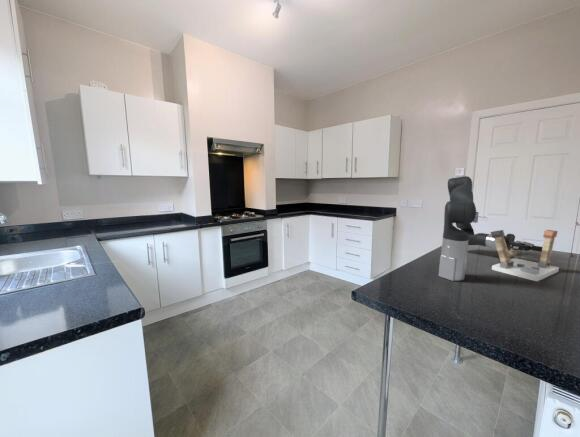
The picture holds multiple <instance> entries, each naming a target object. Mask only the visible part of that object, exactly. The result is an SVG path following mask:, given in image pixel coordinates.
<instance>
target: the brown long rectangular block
mask: <svg viewBox="0 0 580 437" xmlns="http://www.w3.org/2000/svg"><path fill="white" fill-rule="evenodd" d="M557 235H558V230H553V229H546V230H544V231H543V236H542V238H544V239H543V243H542V246H541V247H542V252H540V257H539V258H540V259H539V262H541V263H546V265H548V263H550V261H551V258H552V252H553V248H554V243H555V238H557ZM546 265H545V266H546Z"/></svg>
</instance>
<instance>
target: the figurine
mask: <svg viewBox="0 0 580 437" xmlns="http://www.w3.org/2000/svg"><path fill="white" fill-rule="evenodd" d="M505 236H509V237H512V239H513V241H515V239H516V235H515V234H513V233H507V234H506V235H505ZM517 251H518V250H513V248H511V250H509V251H508V252H509V255H510V257H512V256H513V257H516V256H518V255H517V254H518V252H517Z"/></svg>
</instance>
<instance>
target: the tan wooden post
mask: <svg viewBox="0 0 580 437" xmlns="http://www.w3.org/2000/svg"><path fill="white" fill-rule="evenodd" d="M490 234H491V235H492V238H494V241H495V244H496V248H497V249H496V251H497V253H498V257H499V261H500V263H501V262H502V263H506V264H508V265H507V266H510V265H511V259H512V258H511V256H510V255H509V252H508V249H507V245H506V242H505V239H504V236H506V235H505V232H504V229H502V230H493V231H490Z"/></svg>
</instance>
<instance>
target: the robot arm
mask: <svg viewBox="0 0 580 437" xmlns="http://www.w3.org/2000/svg"><path fill="white" fill-rule="evenodd" d="M447 190H448V194H449V195H448V196H449V201H447V202H446V204H445V206H444V217H443V218H444V220H443V221H444V222H443V223H444V224H443V233H442V243H441V253H440V257H439V268H438V277H440V278H443V279H446V280H449V281H452V282H453V281H456V282H457V281H464V280H465V274H466V266H467V258H468V257H467V256H468V250H469V249H468V247H469V246H481V247H487V248H491V249H494V250H497V248H496V244H495V241H494V238H492V235H491V233H490V234H489V233H486V232H485V233H484V232H479V233H475V230H474V228H473V226H472V224H471V223H473V222H474V221H475V219H476V216H477V207H476V204H475V202H474V193H473V181H472V178H471V177H469V176H467V175H466V176H465V175H463V176H457V177H451V178H449V179H447ZM454 224H455V225H456V226H455V225H454ZM504 239H505V242H506V245H507V249H508V251H509V250H511V248H513V250H517V251H524V252H525V251H526V252H529V251H530V252H532V251H534V252H538V253H539V252H540V253H541V252H542V247H543V246H539V245H535V244H534V243H531V242H527V241H520V240H516V241H515V240H514V241H513V239H512V237H509V236H506V235H505V236H504Z"/></svg>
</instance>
